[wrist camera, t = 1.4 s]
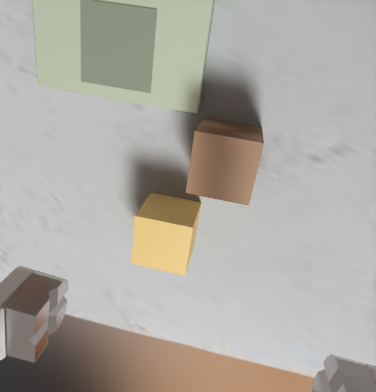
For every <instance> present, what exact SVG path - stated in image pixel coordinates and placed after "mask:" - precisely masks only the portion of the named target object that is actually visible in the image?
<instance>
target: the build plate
mask: <svg viewBox="0 0 376 392" xmlns="http://www.w3.org/2000/svg"><path fill="white" fill-rule="evenodd" d="M214 3H215V0H33V14H34V29H35V45H36V61H37V76H38V86H39V87H45V88H51V89H57V90H63V91H68V92H74V93H80V94H86V95H92V96H98V97H103V98H109V99H115V100H121V101H127V102H132V103H138V104H144V105H150V106H156V107H161V108H167V109H173V110H179V111H185V112H190V113H196V114H197V113H198V111H199V106H200V99H201V92H202V86H203V79H204V72H205V65H206V58H207V51H208V44H209V38H210V31H211V24H212V17H213V10H214Z"/></svg>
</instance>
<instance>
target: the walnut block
mask: <svg viewBox="0 0 376 392" xmlns="http://www.w3.org/2000/svg"><path fill="white" fill-rule="evenodd" d="M263 144H264V141H263V133H262V128H260V127H254V126H248V125H243V124H237V123H231V122H225V121H219V120H214V119H208V118H203V120H202V121H201V122H200V124H199V125H198V127H197V128H196V130H195V131H194V138H193V145H192V152H191V159H190V166H189V173H188V180H187V187H186V193H189V194H194V195H199V196H204V197H209V198H214V199H219V200H224V201H229V202H234V203H239V204H244V205H249V202H250V198H251V194H252V190H253V185H254V181H255V177H256V173H257V169H258V165H259V161H260V156H261V152H262V148H263Z"/></svg>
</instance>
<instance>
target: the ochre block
mask: <svg viewBox="0 0 376 392" xmlns="http://www.w3.org/2000/svg"><path fill="white" fill-rule="evenodd" d="M200 206H201V202H197V201H192V200H187V199H182V198H177V197H172V196H167V195H162V194H157V193H152V192H151V193H150V195H149V196H148V197H147V199H146V200H145V202H144V203H143V205H142V206H141V208H140V209H139V210H138V212H137V213H136V215H135V220H134V234H133V249H132V264H136V265H141V266H145V267H150V268H154V269H159V270H163V271H168V272H172V273H176V274H181V275H185V274H186V271H187V267H188V264H189V261H190V257H191V254H192V250H193V247H194V242H195V236H196V230H197V224H198V218H199V212H200Z"/></svg>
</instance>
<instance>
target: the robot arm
mask: <svg viewBox="0 0 376 392" xmlns="http://www.w3.org/2000/svg"><path fill="white" fill-rule="evenodd" d="M67 290H68V281H67V280H66V279H62V278H59V277H56V276H53V275H49V274H46V273H43V272H40V271H37V270H36V271H35V270H32V269H29V268H26V267H23V266H20V267H18V268H16V269H14V270H13V271H12V272H11V273H10V274H9V275H8V276H7V277H6V278H5V279H4V280H3V281H2V282H1V283H0V360H2V359H3V358H5V357H6V355H8V356H12V357H16V358H19V359H23V360H27V361H31V362H35V361H36V360H37V358H38V357H39V355H40V354H41V352H42V351H43V349H44V348H45V346H46V345H47V343H48V335H49V334H51V333H53V332H55V331H56V330H57V328H58V327H59V325H60V324H61V321H62V319H63V317H64V314H65V311H66V307H67V300H66V298H65V297H64V295H65V293H66V292H67ZM324 366H325V369H324V370H322V371H319V372H318V373H317V374H316V376H315V378H314V380H313V386H312V392H376V366H372V365H368V364H363V363H361V362H357V361H354V360H350V359H346V358H343V357H339V356H335V355H332V354H331V355H329V356H327V358H326V359H325V361H324Z"/></svg>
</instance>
